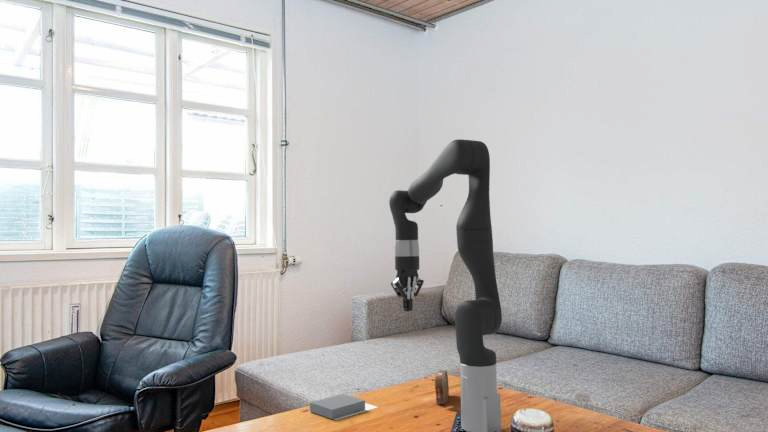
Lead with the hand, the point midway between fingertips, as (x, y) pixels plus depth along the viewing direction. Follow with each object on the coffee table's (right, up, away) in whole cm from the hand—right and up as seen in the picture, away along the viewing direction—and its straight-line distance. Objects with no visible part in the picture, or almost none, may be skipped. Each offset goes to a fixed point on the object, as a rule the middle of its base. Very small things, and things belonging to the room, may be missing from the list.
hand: (408, 311), depth 171 cm
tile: (-16, -25, -9) cm, 31 cm away
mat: (-19, -27, -11) cm, 35 cm away
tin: (+10, -27, -3) cm, 29 cm away
